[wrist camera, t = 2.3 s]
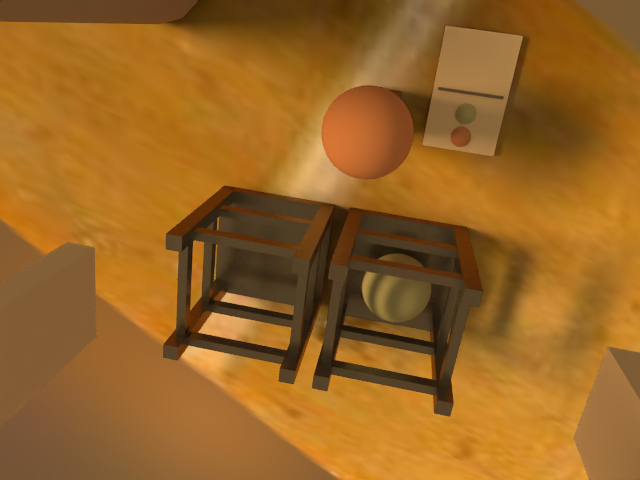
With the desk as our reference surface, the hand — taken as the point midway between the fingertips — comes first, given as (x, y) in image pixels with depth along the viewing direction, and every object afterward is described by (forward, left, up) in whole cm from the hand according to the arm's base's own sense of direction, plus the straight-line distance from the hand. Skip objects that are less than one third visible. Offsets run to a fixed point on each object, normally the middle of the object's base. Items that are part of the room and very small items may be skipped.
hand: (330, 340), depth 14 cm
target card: (-4, +5, -28) cm, 29 cm away
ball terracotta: (-2, -1, -18) cm, 18 cm away
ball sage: (+10, +3, -25) cm, 27 cm away
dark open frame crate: (+10, +3, -28) cm, 30 cm away
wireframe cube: (+10, -7, -28) cm, 31 cm away
